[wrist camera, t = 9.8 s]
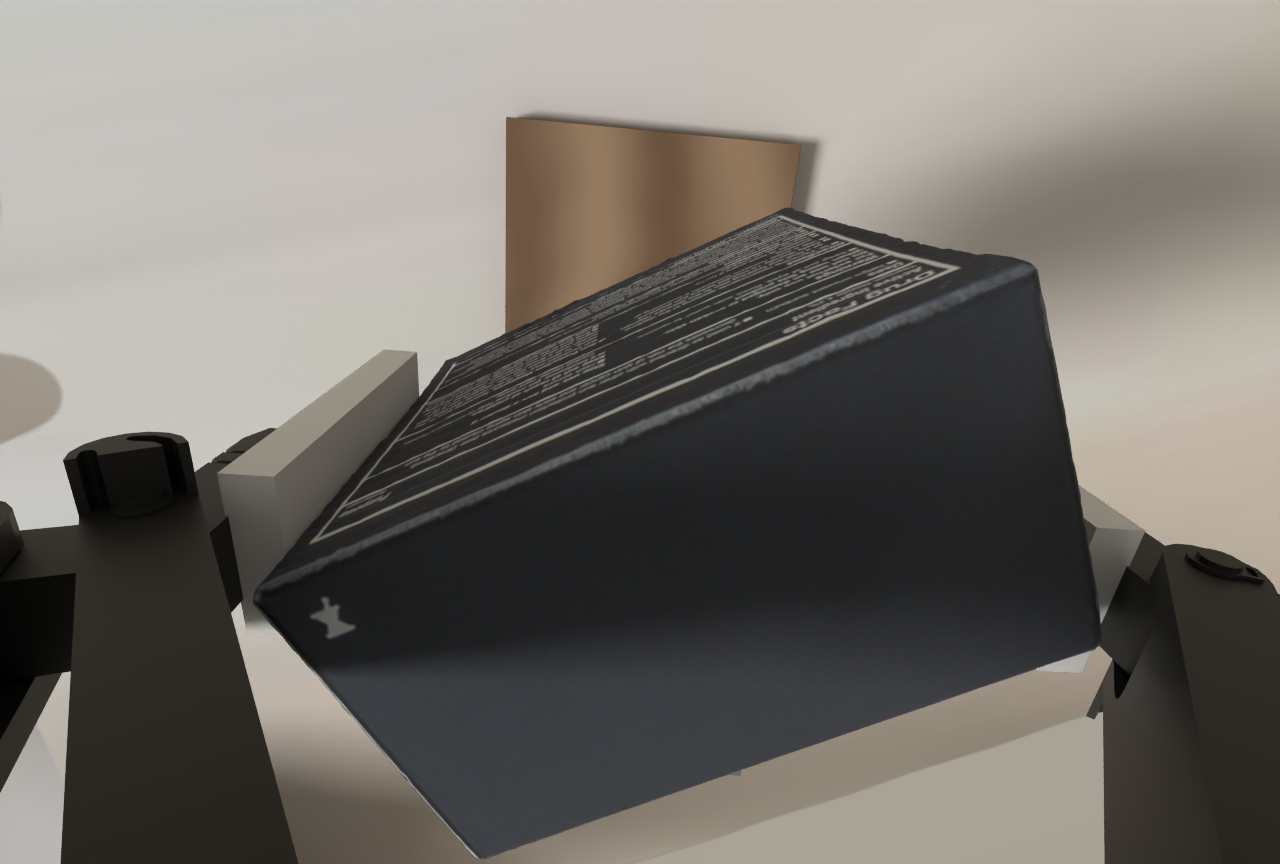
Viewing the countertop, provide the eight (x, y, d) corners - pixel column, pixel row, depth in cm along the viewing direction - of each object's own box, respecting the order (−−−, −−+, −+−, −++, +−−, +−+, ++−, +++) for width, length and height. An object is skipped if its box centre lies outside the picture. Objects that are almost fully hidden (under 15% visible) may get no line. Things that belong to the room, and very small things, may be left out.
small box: (543, 542, 20) (469, 891, 10) (436, 360, 18) (210, 590, 8) (863, 412, 19) (1129, 673, 9) (793, 197, 16) (1049, 230, 7)
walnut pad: (508, 429, 34) (504, 436, 33) (510, 119, 28) (506, 117, 27) (746, 445, 35) (750, 452, 34) (795, 146, 29) (800, 145, 28)
